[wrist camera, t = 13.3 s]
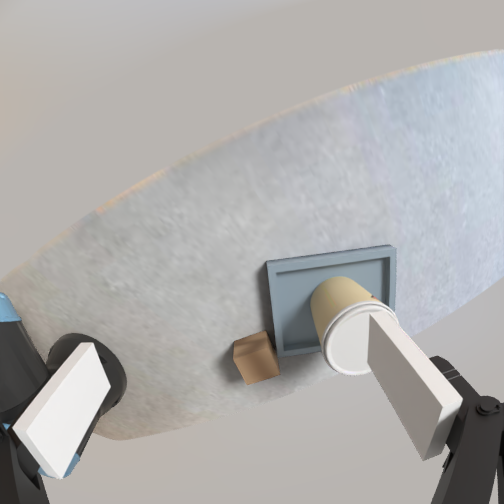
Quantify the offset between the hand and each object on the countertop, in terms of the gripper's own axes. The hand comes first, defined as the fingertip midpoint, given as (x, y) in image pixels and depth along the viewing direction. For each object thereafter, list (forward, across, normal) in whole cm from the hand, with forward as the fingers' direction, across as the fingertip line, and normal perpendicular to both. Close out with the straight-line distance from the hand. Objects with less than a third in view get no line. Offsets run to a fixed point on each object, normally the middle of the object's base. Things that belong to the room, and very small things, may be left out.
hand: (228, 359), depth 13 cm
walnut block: (+29, 0, -18) cm, 34 cm away
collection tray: (+29, +12, -11) cm, 33 cm away
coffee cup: (+28, +12, -11) cm, 32 cm away
